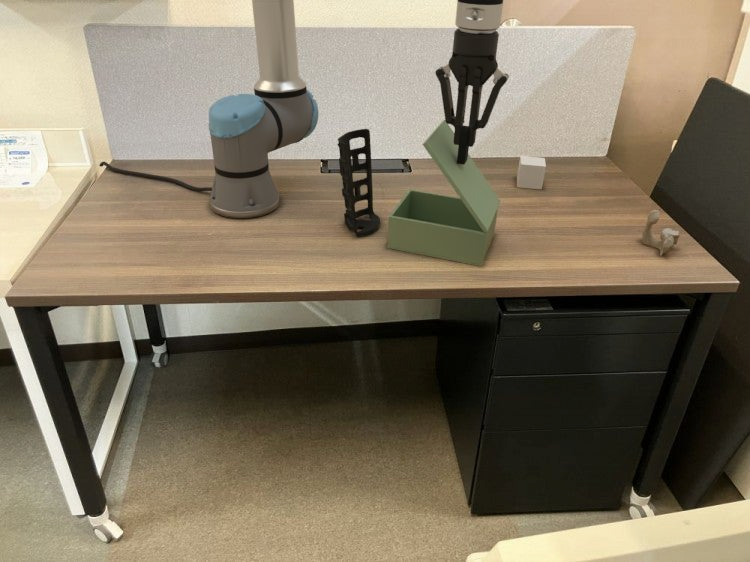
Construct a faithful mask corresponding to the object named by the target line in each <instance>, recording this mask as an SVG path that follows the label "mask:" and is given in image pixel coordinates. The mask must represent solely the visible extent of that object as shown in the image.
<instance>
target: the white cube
mask: <svg viewBox="0 0 750 562" xmlns="http://www.w3.org/2000/svg"><path fill="white" fill-rule="evenodd" d="M546 169H547V164H546V159H545V157H539V156H538V157H537V156H528V155H520V156H519V161H518V169H517V174H516V187H517V188H522V189H534V190H543V184H544V179H545V175H546V174H545V173H546Z"/></svg>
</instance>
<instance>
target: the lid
mask: <svg viewBox="0 0 750 562" xmlns="http://www.w3.org/2000/svg"><path fill="white" fill-rule="evenodd" d="M454 132H455V131H454V130H453V129H452V128H451V127H450V124H447V123H446V121H445V119H444V120H442V121H441V122H440V123H439V125H438V126H436V128H435V129H434V130H433V131H432V133H431V134H430V135H429V136H428V137H427V138H426V140H424V142H423V143H422V146H423V148H424V149H425V150H426V151H427V153H428V155H430V157H431V158H432V160H433V161H434V163H435V164H436V166H437V167H438V168H439V170H440V172H441V173H442V174H443V176H444V177H445V179H446V180H447V182H448V183H449V185H450V186H451V187H452V189H453V191H454V192H455V193H456V195H457V197H459V198H460V199H461V200H462V201H463V203H464V204H465V206H466V207H467V209H468V210H469V211H470V213H471V214H472V216H473V217H474V219H475V220H476V221H477V223H478V224H479V226H480V227H481V229H482V230H483V231H484V233H485V232H487V231H488V229H489V227H490V224H491V222H492V220H493V217H494V215H495V213H496V210H497V208H498V209H499V205H500V203H501V199H500V198H499V197H498V195H497V194H496V192H495V191H494V190H493V188H492V186H491V185H490V184H489V182H488V180H487V179H486V178H485V176H484V175H483V173H482V171H481V170H480V169H479V168H478V166H477V165H476V163H475V162H474V160H473V158H472V157H471V156H470V154H469V153H468V158H467V161H466V163H465V164H464V165H463V164H457V156H458V147H459V145H455V144H454Z"/></svg>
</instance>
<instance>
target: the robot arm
mask: <svg viewBox="0 0 750 562" xmlns="http://www.w3.org/2000/svg"><path fill="white" fill-rule="evenodd" d="M294 1H295V0H251V5H252V14H253V25H254V32H255V34H254V35H255V44H256V53H257V63H258V72H259V73H258V74H259V78H258V80H257V81H256V82H255V83H254V84H253V93H254V94H251V93H238V94H237V95H235V94H232V95H227V96H224V97H222V98H219V99H217V100H216V101H215V102H213V103H212V104H211V106H210V107H209V109H208V131H209V134H210V141H211V143H210V144H211V149H212V157H213V164H214V178H213V182H212V186H211V187H210V186H209V187H208V186H207V187H206V186H205V187H198V186H193V185H191V184H188V183H186V182H183V181H181V180H179V179H176V178H172V177H168V176H164V175H157V174H153V173H152V174H151V173H145V172H139V171H134V170H128V169H123V168H119V167H118V168H117V167H114V166H113V165H111V164H109V163H108V162H107V161H101V162H100V163H99V165H98V166H99V167H104V166H105V167H106V168H107V169H109V170H111V171H113V172H115V173H121V174H125V175H126V174H127V175H130V176H131V175H132V176H137V177H143V178H149V179H155V180H161V181H167V182H171V183H173V184H177V185H179V186H182V187H183V188H186V189H189V190H192V191H195V192H210V198H209V203H210V209H211V210H212V211H213V213H215V214H217V215H219V216H222V217H226V218H230V219H253V218H258V217H261V216H262V217H263V216H266V215H268V214H270V213H272V212H274V211H275V210H276V209H277V208H278V207H279V205H280V194H279V192H278V189H277V187H276V184H275V182H274V180H273V177H272V174H271V172H270V165H269V153H271V152H274V151H276V150H279V149H282V148H285V147H287V146H290V145H293V144H297V143H300V142H301V141H302V140H304V139H306V138H308V137H309V136H311V134H312V133H313V132H314V131H315V130H316V127H317V125H318V121H319V107H318V103H317V100H316V99H314V95H313V93H312V92H311V91H310V90H308V88H307V82H306V81H305V80H303V79H302V78H301V76H300V74H299V73H300V72H299V58H298V56H299V55H298V44H297V29H296V17H295V2H294ZM503 6H504V0H456V11H455V20H454V21H455V22H454V25H455V26H456V27H457V28H456V29H455V30H454V32H453V43H452V53H451V54H452V55H451V57H450V58H449V60H448V63H447V64H445V65H444V66H440V67H438V68H437V69H436V70H435V76H436V78H437V80H438V82H439V84H440V92H441V99H442V106H443V114H444V120H445V121H446V123H447V124H448V125H451V126H453V128H454V131H453V132H454V144H455V145H459V147H458V156H457V164H463V165H464V164H465V163H466V161H467V158H468V154H469V151H470V150H469V149H470V148H472V147H474V146H475V143H476V139H477V137H476V136H477V130H479V129H485V128H486V126H487V125H488V122H489V120H490V117H491V115H492V112H493V109H494V107H495V104H496V102H497V100H498V97H499V94H500V92H501V90H502V88H503V87H504V86H505V84H506V83H507V81H508V80H509V78H510V75H509V74H508V73H504V72H503V71H502V70H501V69H499V68H498V67H499V64H498V61H497V53H498V51H497V50H498V46H499V45H498V44H499V37H500V34H499V31H497V30H498V29H500V27H501V22H502V14H503ZM451 73H452V75H453V76H454V78H455V81H456V82H457V83H458V85H457V99H456V109H455V107H454V101H453V93H452V85H451V80H450V77H451ZM492 76H493V79H492V83H493V84H494V85H493V87H492V89H491V91H490V94H489V96H488V99H487V102H486V104H485V107H484V110H483V112H482V115H481V117H480V119H479V116H480V108H481V102H482V101H481V100H482V91H483V88H484V85H485V83H487V82H488V81H489V80H490V78H491V77H492ZM469 86H470V87H472V90H471V92H472V94H471V100H470V101H471V102H470V110H469V120H468V125H464V124H465V117H466V116H465V115H466V107H467V97H468V89H469ZM455 110H456V111H455Z"/></svg>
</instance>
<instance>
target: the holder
mask: <svg viewBox="0 0 750 562" xmlns="http://www.w3.org/2000/svg"><path fill="white" fill-rule="evenodd" d="M358 138H362V139H363V140H364V145H363V146H361V147H356V148H351V142H350V141H351V140H353V139H358ZM337 142H338V143H337V144H336V145H337V147H338V150H339V158H338V163H339V164H338V165H339V174H340V176H341V180H342V188H341V194H342V197H343V200H344V208H345V213H343V217H344V225H345V226H346V227H347V229H348V231H350V232H352V233H353V234H354V235H355V237H357V238H362V237H365V236H367V235H370V234H371V233H373V232H374V231H376V230H377V229H378V228H380V225H381V218H380V217H379V216H378V215H377V214H376V213H375V212H374V191H373V190H374V189H373V169H372V148H371V132H370V129H369V128H360V129H355V130H351V131H348V132H346V133H344V134H342V135H341V136H340V137H338V138H337ZM359 155H364V156H365V162H363V163H360V160H359ZM359 171H365V174H366V177H365V178H361V179H357V180H354V178H353V174H354V173H355V172H359ZM362 186H366V193H363V194H362V192H361V187H362ZM362 201H366V202H367V206H366V208H361V209H358V210H356V204H357V203H359V202H362ZM364 216H369V218H370V219H358V218H360V217H364ZM358 228H359V229H361V230H358Z"/></svg>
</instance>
